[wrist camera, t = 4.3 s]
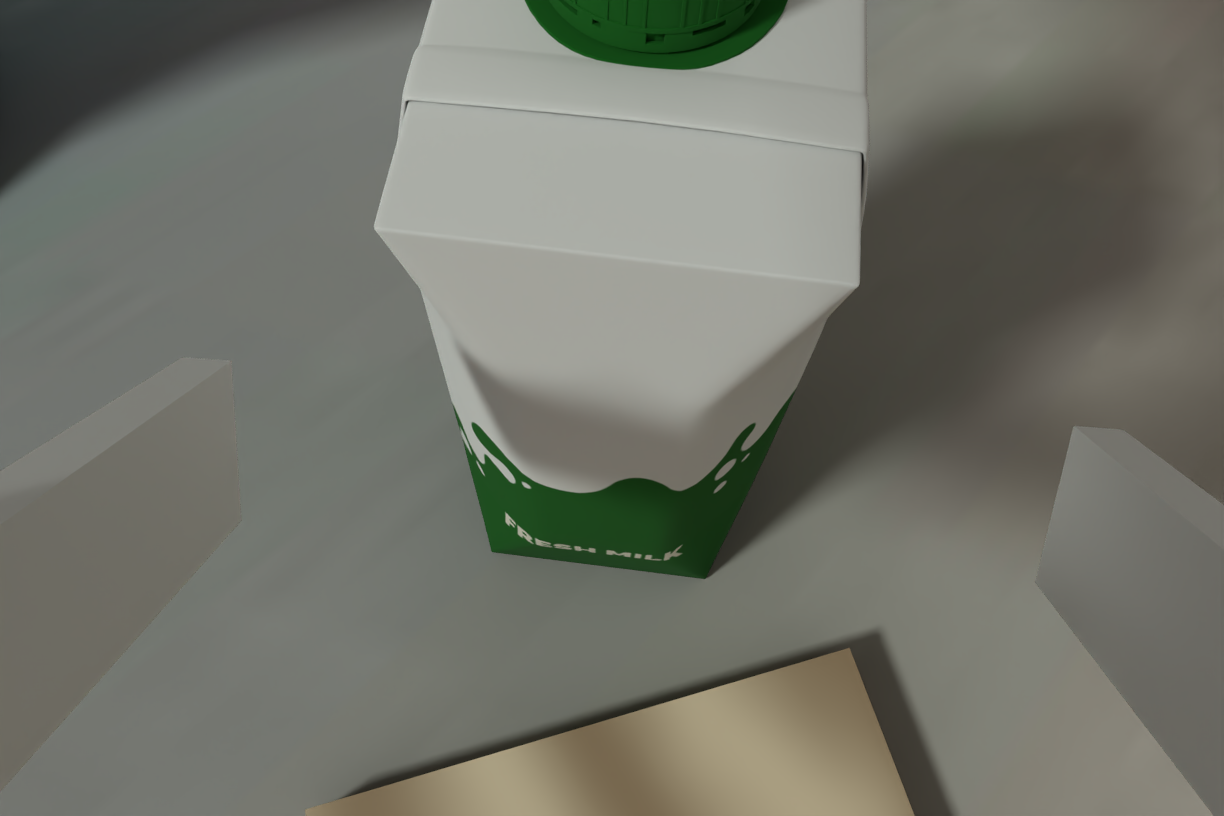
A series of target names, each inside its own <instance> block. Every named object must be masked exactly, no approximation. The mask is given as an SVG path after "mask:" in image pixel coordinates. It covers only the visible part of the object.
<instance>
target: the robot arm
mask: <svg viewBox="0 0 1224 816" xmlns="http://www.w3.org/2000/svg"><path fill="white" fill-rule="evenodd" d="M241 521H242V520H241V504H240V488H239V472H238V457H237V441H236V425H235V409H234V393H233V378H232V362H231V361H227V360H214V359H201V358H188V357H182V358H180V359H179V360H177V361H175V362H174V363H172V364H171V365H169V366H167V367H166V368H164V369H163V370H161V371H159V372H158V373H156V374H155V375H153V376H151V377H150V378H148V379H147V380H145V381H143V382H142V383H140V384H139V385H137V386H135V387H134V388H132V389H131V390H129V391H127V392H126V393H124V394H123V395H121V396H119V397H118V398H116V399H115V400H113V401H111V402H110V403H108V404H107V405H105V406H103V407H102V408H100V409H99V410H97V411H95V412H94V413H92V414H91V415H89V416H87V417H86V418H84V419H83V420H81V421H79V422H78V423H76V424H75V425H73V426H71V427H70V428H68V429H67V430H65V431H63V432H62V433H60V434H59V435H57V436H55V437H54V438H52V439H51V440H49V441H47V442H46V443H44V444H43V445H41V446H39V447H38V448H36V449H35V450H33V451H31V452H30V453H28V454H27V455H25V456H23V457H22V458H20V459H19V460H17V461H15V462H14V463H12V464H11V465H9V466H7V467H6V468H4V469H3V470H1V471H0V792H1V790H2V789H3V788H4V787H5V786H6V785H7V784H8V783H9V781H10V780H11V779H12V778H13V777H14V776H15V775H16V774H17V772H18V771H19V770H20V769H21V768H22V767H23V766H24V765H25V763H26V762H27V761H28V760H29V759H30V758H31V757H32V756H33V754H34V753H35V752H36V751H37V750H38V749H39V748H40V747H41V745H42V744H43V743H44V742H45V741H46V740H47V739H48V738H49V736H50V735H51V734H52V733H53V732H54V731H55V730H56V729H57V727H58V726H59V725H60V724H61V723H62V722H63V721H64V720H65V718H66V717H67V716H68V715H69V714H70V713H71V712H72V711H73V709H74V708H75V707H76V706H77V705H78V704H79V703H80V702H81V700H82V699H83V698H84V697H85V696H86V695H87V694H88V693H89V691H90V690H91V689H92V688H93V687H94V686H95V685H96V684H97V682H98V681H99V680H100V679H101V678H102V677H103V676H104V675H105V673H106V672H107V671H108V670H109V669H110V668H111V667H112V666H113V664H114V663H115V662H116V661H117V660H118V659H119V658H120V657H121V655H122V654H123V653H124V652H125V651H126V650H127V649H128V648H129V646H130V645H131V644H132V643H133V642H134V641H135V640H136V639H137V637H138V636H139V635H140V634H141V633H142V632H143V631H144V630H145V628H146V627H147V626H148V625H149V624H150V623H151V622H152V621H153V619H154V618H155V617H156V616H157V615H158V614H159V613H160V612H161V610H162V609H163V608H164V607H165V606H166V605H167V604H168V603H169V601H170V600H171V599H172V598H173V597H174V596H175V595H176V594H177V592H178V591H179V590H180V589H181V588H182V587H183V586H184V585H185V583H186V582H187V581H188V580H189V579H190V578H191V577H192V576H193V574H194V573H195V572H196V571H197V570H198V569H199V568H200V567H201V566H202V564H203V563H204V562H205V561H206V560H207V559H208V558H209V557H210V555H211V554H212V553H213V552H214V551H215V550H216V549H217V548H218V546H219V545H220V544H221V543H222V542H223V541H224V540H225V539H226V537H227V536H228V535H229V534H230V533H231V532H232V531H233V530H234V528H235V527H236V526H237V525H238V524H239V523H240V522H241ZM1035 583H1036V584H1037V585H1038V587H1039V588H1040V589H1041V591H1042V592H1043V593H1044V595H1045V596H1046V597H1047V599H1048V600H1049V601H1050V602H1051V604H1052V605H1053V606H1054V608H1055V609H1056V610H1057V612H1058V613H1059V614H1060V615H1061V617H1062V618H1063V619H1064V621H1065V622H1066V623H1067V625H1068V626H1069V627H1070V629H1071V630H1072V631H1073V632H1074V634H1075V635H1076V636H1077V638H1078V639H1079V640H1080V642H1081V643H1082V644H1083V645H1084V647H1085V648H1086V649H1087V651H1088V652H1089V653H1090V655H1091V656H1092V657H1093V659H1094V660H1095V661H1096V662H1097V664H1098V665H1099V666H1100V668H1101V669H1102V670H1103V672H1104V673H1105V674H1106V676H1107V677H1108V678H1109V679H1110V681H1111V682H1112V683H1113V685H1114V686H1115V687H1116V689H1117V690H1118V691H1119V692H1120V694H1121V695H1122V696H1123V698H1124V699H1125V700H1126V702H1127V703H1128V704H1129V706H1130V707H1131V708H1132V709H1133V711H1134V712H1135V713H1136V715H1137V716H1138V717H1139V719H1140V720H1141V721H1142V723H1143V724H1144V725H1145V726H1146V728H1147V729H1148V730H1149V732H1150V733H1151V734H1152V736H1153V737H1154V738H1155V739H1156V741H1157V742H1158V743H1159V745H1160V746H1161V747H1162V749H1163V750H1164V751H1165V753H1166V754H1167V755H1168V756H1169V758H1170V759H1171V760H1172V762H1173V763H1174V764H1175V766H1176V767H1177V768H1178V769H1179V771H1180V772H1181V773H1182V775H1183V776H1184V777H1185V779H1186V780H1187V781H1188V783H1189V784H1190V785H1191V786H1192V788H1193V789H1194V790H1195V792H1196V793H1197V794H1198V796H1199V797H1200V798H1201V800H1202V801H1203V802H1204V803H1205V805H1206V806H1207V807H1208V809H1209V810H1210V811H1211V813H1212V814H1213V815H1214V816H1224V505H1223V504H1222V503H1220V502H1219V501H1218V500H1216V499H1215V498H1214V497H1212V496H1211V495H1210V494H1208V493H1207V492H1206V491H1204V490H1203V489H1202V488H1200V487H1199V486H1198V485H1196V484H1195V483H1194V482H1192V481H1191V480H1190V479H1188V478H1187V477H1186V476H1184V475H1183V474H1182V473H1180V472H1179V471H1178V470H1176V469H1175V468H1174V467H1172V466H1171V465H1170V464H1168V463H1167V462H1166V461H1164V460H1163V459H1162V458H1160V457H1159V456H1158V455H1156V454H1155V453H1154V452H1152V451H1151V450H1150V449H1148V448H1147V447H1146V446H1144V445H1143V444H1142V443H1140V442H1139V441H1138V440H1136V439H1135V438H1134V437H1132V436H1131V435H1130V434H1128V433H1127V432H1126V431H1124V430H1122V429H1109V428H1096V427H1083V426H1073V430H1072V434H1071V438H1070V442H1069V447H1068V451H1067V455H1066V459H1065V463H1064V467H1063V471H1062V475H1061V479H1060V483H1059V487H1058V491H1057V495H1056V499H1055V503H1054V507H1053V511H1052V515H1051V519H1050V524H1049V528H1048V532H1047V536H1046V540H1045V544H1044V548H1043V552H1042V556H1041V560H1040V564H1039V568H1038V572H1037V576H1036V580H1035Z"/></svg>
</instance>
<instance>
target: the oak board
mask: <svg viewBox="0 0 1224 816" xmlns="http://www.w3.org/2000/svg"><path fill="white" fill-rule="evenodd" d="M305 813H306V816H915V815H914V813H913V810H912V808H911V805H910V802H909V800H908V797H907V795H906V792H905V790H904V787H903V784H902V782H901V779H900V777H899V774H898V772H897V769H896V766H895V764H894V761H893V759H892V756H891V753H890V751H889V748H888V746H887V743H886V741H885V738H884V735H883V733H882V730H881V728H880V725H879V723H878V720H877V717H876V715H875V712H874V710H873V707H872V705H871V702H870V699H869V697H868V694H867V692H866V689H865V687H864V684H863V681H862V679H861V676H860V674H859V671H858V668H857V666H856V663H855V661H854V658H853V656H852V653H851V650H850V648H847V649H844V650H841V651H837V652H834V653H830V654H827V655H824V656H820V657H817V658H814V659H810V660H807V661H803V662H800V663H797V664H793V665H790V666H787V667H783V668H780V669H777V670H773V671H770V672H766V673H763V674H760V675H756V676H753V677H750V678H746V679H743V680H740V681H736V682H733V683H729V684H726V685H723V686H719V687H716V688H713V689H709V690H706V691H703V692H699V693H696V694H692V695H689V696H686V697H682V698H679V699H676V700H672V701H669V702H666V703H662V704H659V705H655V706H652V707H649V708H645V709H642V710H639V711H635V712H632V713H629V714H625V715H622V716H618V717H615V718H612V719H608V720H605V721H602V722H598V723H595V724H592V725H588V726H585V727H581V728H578V729H575V730H571V731H568V732H565V733H561V734H558V735H555V736H551V737H548V738H544V739H541V740H538V741H534V742H531V743H528V744H524V745H521V746H517V747H514V748H511V749H507V750H504V751H501V752H497V753H494V754H491V755H487V756H484V757H480V758H477V759H474V760H470V761H467V762H464V763H460V764H457V765H454V766H450V767H447V768H443V769H440V770H437V771H433V772H430V773H427V774H423V775H420V776H417V777H413V778H410V779H406V780H403V781H400V782H396V783H393V784H390V785H386V786H383V787H380V788H376V789H373V790H369V791H366V792H363V793H359V794H356V795H353V796H349V797H346V798H343V799H339V800H336V801H332V802H329V803H326V804H322V805H319V806H316V807H312V808H309V809H306V810H305Z"/></svg>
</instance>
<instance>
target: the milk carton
mask: <svg viewBox="0 0 1224 816" xmlns="http://www.w3.org/2000/svg"><path fill="white" fill-rule="evenodd" d="M869 154H870V129H869V103H868V99H867V7H866V0H432V3H431V6H430V9H429V13H428V16H427V19H426V23H425V26H424V30H423V33H422V37H421V40H420V44H419V47H418V48H417V49H416V51H415V52H414V55H413V58H412V61H411V64H410V67H409V71H408V74H407V78H406V82H405V86H404V89H403V96H402V105H401V114H400V123H399V132H398V140H397V144H396V148H395V151H394V155H393V158H392V162H391V165H390V169H389V173H388V176H387V180H386V183H385V187H384V191H383V194H382V198H381V201H380V205H379V209H378V213H377V216H376V220H375V224H374V229H375V231H376V232H377V233H378V234H379V235H380V237H381V238H382V239H383V241H384V242H385V243H386V245H387V246H388V247H389V249H390V250H391V251H392V253H393V254H394V255H395V256H396V258H397V259H398V260H399V262H400V263H401V264H402V266H403V267H404V268H405V270H406V271H407V272H408V274H409V275H410V276H411V278H412V279H413V280H414V282H415V283H416V284H417V286H418V287H419V288H420V290H421V292H422V296H423V300H424V304H425V307H426V311H427V314H428V318H429V322H430V325H431V329H432V332H433V336H434V339H435V343H436V346H437V350H438V354H439V357H440V361H441V364H442V368H443V371H444V375H445V379H446V382H447V386H448V389H449V393H450V397H451V400H452V404H453V407H454V411H455V414H456V418H457V421H458V425H459V428H460V431H461V434H462V438H463V442H464V446H465V450H466V454H467V458H468V462H469V466H470V470H471V473H472V477H473V481H474V485H475V489H476V492H477V496H478V500H479V504H480V507H481V511H482V515H483V519H484V522H485V526H486V530H487V534H488V538H489V542H490V547H491V551H492V552H496V553H504V554H512V555H520V556H528V557H535V558H543V559H551V560H559V561H567V562H575V563H583V564H591V565H599V566H607V567H615V568H623V569H631V570H639V571H646V572H654V573H662V574H670V575H678V576H686V577H694V578H702V579H706V577H707V575H708V573H709V570H710V568H711V566H712V564H713V562H714V560H715V558H716V556H717V554H718V552H719V550H720V548H721V546H722V544H723V542H724V540H725V538H726V536H727V534H728V532H729V530H730V528H731V526H732V524H733V522H734V520H735V518H736V516H737V514H738V512H739V510H740V508H741V506H742V504H743V502H744V500H745V498H746V496H747V494H748V491H749V489H750V487H751V485H752V483H753V481H754V479H755V477H756V475H757V473H758V470H759V468H760V466H761V464H762V462H763V460H764V458H765V456H766V454H767V452H768V450H769V447H770V445H771V443H772V441H773V439H774V436H775V434H776V432H777V430H778V428H779V425H780V423H781V421H782V419H783V417H784V414H785V412H786V410H787V408H788V406H789V403H790V401H791V399H792V397H793V395H794V392H795V390H796V388H797V386H798V384H799V381H800V379H801V377H802V375H803V373H804V370H805V368H806V366H807V364H808V362H809V359H810V357H811V355H812V353H813V351H814V348H815V346H816V344H817V342H818V340H819V337H820V335H821V333H822V330H823V328H824V325H825V323H826V321H827V318H828V317H829V316H830V315H831V314H832V313H833V312H834V311H835V309H836V308H837V307H838V306H839V305H840V304H841V303H842V302H843V301H844V300H845V299H846V298H847V297H848V296H849V295H850V294H851V293H852V292H853V291H854V290H855V289H856V288H857V287H858V286H859V284H860V259H861V227H862V222H863V216H864V210H865V203H866V197H867V187H868V174H869Z"/></svg>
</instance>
